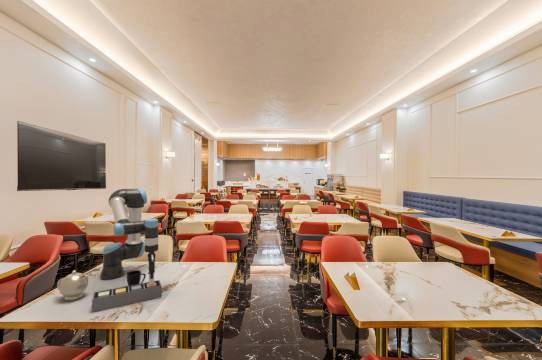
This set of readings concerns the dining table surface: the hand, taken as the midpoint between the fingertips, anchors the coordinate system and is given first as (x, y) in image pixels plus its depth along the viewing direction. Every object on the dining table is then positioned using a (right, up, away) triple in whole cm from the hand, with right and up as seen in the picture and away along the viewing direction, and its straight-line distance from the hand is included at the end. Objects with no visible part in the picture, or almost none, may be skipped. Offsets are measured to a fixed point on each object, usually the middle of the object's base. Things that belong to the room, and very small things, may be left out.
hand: (151, 283), depth 152 cm
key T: (-14, -4, -8) cm, 17 cm away
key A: (-21, -4, -12) cm, 24 cm away
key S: (-7, -4, -4) cm, 9 cm away
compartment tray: (-10, -8, -6) cm, 14 cm away
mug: (-16, -8, +13) cm, 22 cm away
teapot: (-47, -8, -2) cm, 47 cm away
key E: (0, -4, 0) cm, 4 cm away
